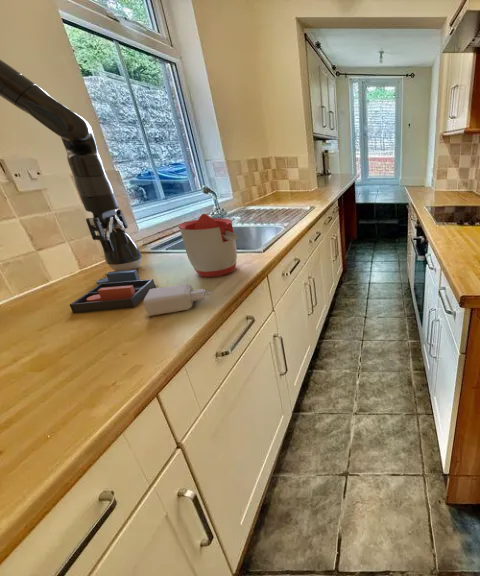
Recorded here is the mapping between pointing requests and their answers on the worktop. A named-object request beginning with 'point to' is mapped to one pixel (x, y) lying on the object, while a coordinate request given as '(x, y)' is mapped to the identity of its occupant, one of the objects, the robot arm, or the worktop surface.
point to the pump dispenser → (123, 254)
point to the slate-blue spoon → (119, 277)
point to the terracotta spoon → (113, 293)
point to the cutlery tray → (140, 292)
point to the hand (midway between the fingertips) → (117, 248)
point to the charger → (172, 299)
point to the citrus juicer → (210, 245)
